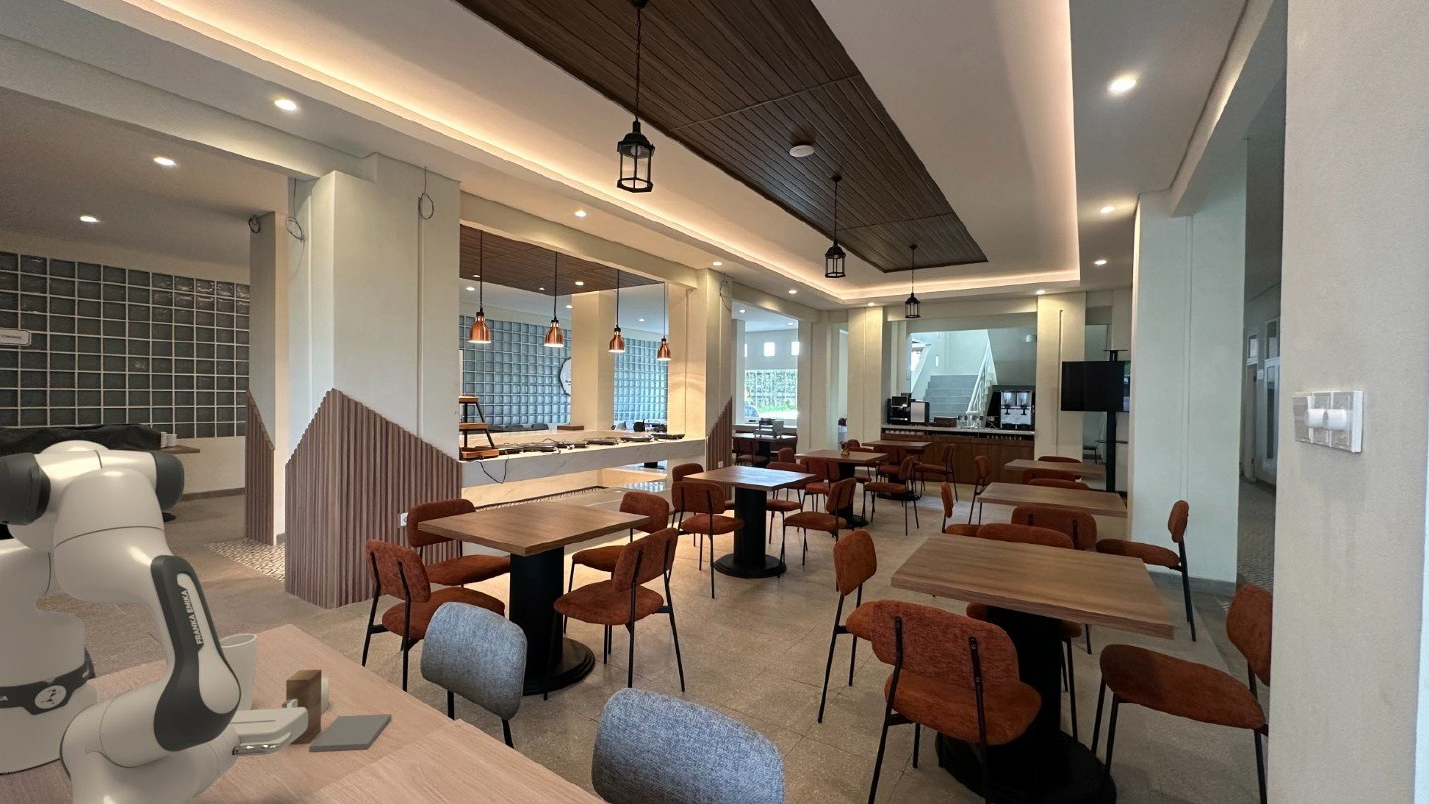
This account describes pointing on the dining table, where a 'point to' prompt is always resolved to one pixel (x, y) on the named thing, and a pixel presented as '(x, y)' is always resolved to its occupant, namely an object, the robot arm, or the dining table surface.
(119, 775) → the robot arm
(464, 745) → the dining table surface
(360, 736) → the slate coaster
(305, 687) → the walnut block
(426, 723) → the dining table surface
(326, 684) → the cream domed cylinder
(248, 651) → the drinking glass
